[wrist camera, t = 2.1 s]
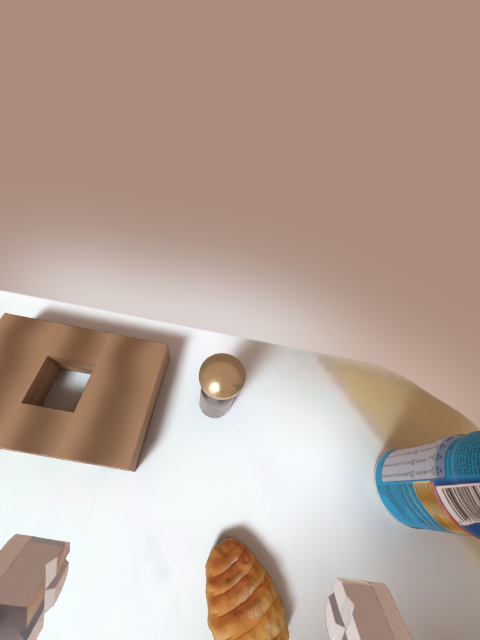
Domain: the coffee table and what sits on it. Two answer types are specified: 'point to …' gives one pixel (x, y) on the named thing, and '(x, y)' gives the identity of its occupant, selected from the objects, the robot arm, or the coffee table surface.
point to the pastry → (242, 596)
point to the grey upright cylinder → (220, 383)
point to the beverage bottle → (433, 484)
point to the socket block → (97, 398)
